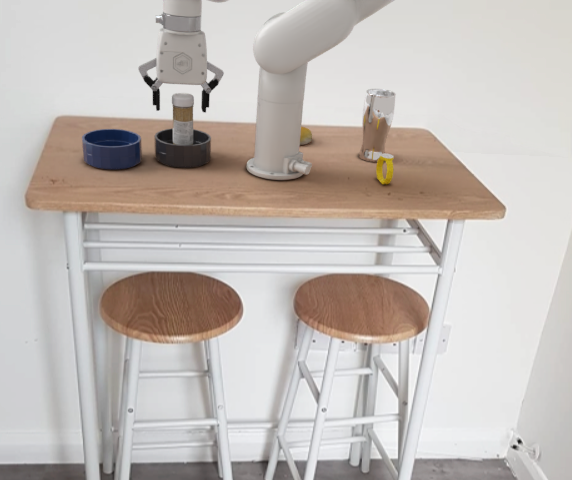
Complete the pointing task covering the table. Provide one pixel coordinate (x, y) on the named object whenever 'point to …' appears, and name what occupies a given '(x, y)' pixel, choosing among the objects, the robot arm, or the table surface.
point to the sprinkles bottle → (182, 118)
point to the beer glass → (376, 122)
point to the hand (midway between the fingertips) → (180, 109)
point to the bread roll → (305, 136)
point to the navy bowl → (112, 149)
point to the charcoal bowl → (182, 149)
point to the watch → (389, 163)
